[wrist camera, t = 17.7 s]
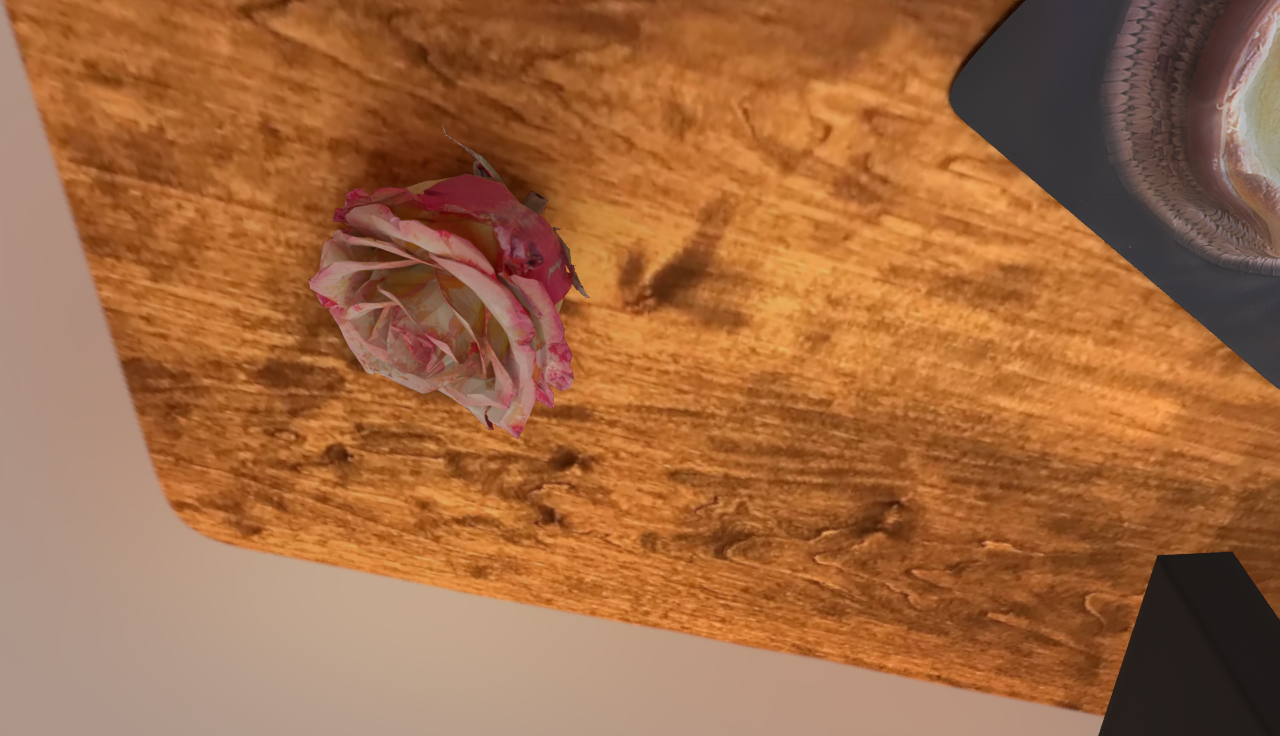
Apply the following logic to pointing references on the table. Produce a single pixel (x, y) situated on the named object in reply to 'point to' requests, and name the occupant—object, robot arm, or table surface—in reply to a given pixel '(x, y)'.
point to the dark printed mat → (1152, 142)
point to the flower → (453, 292)
